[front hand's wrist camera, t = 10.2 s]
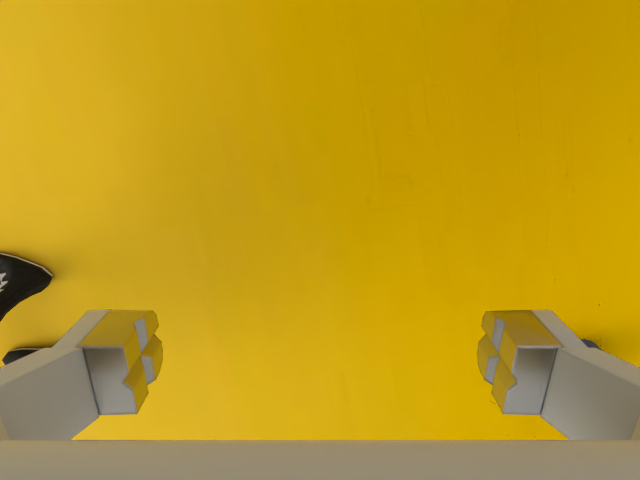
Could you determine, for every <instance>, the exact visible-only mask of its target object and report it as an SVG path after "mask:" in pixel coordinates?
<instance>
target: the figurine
mask: <svg viewBox="0 0 640 480" xmlns="http://www.w3.org/2000/svg"><path fill="white" fill-rule="evenodd" d="M52 276H53V275H52V274H51V273H50V272H49V271H48V270H47V269H46V268H44V267H43V266H40V265H38V264H35V263H33V262H30V261H27V260H25V259H22V258H19V257H17V256H13V255H9V254H5V253H0V321H1V320H2V319H3V317H4V316H5V314H6V313H7V312H9V311H10V310H11V309H12V308H13V307H15V306H16V305H17V304H18V303H19V302H21V301H23V300H25V299H26V298H28V297H30V296H32V295H34V294H36V293H39V292H41V291H42V290H44V289H45V288H46V287H47V286H48V285H49V284H50V282H51V279H52ZM41 349H43V348H20V349H14V350H10V351H9V352H8V353H7V354H6V355H5V357H4V358H3V360H2V361H3V362H4V364H5V365H7V364H9V363H11V362H14V361H16V360H18V359H20V358H23V357H25V356H27V355H29V354H32V353H34V352H36V351H38V350H41Z"/></svg>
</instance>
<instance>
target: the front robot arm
mask: <svg viewBox="0 0 640 480" xmlns="http://www.w3.org/2000/svg"><path fill="white" fill-rule="evenodd" d="M158 326H159V325H158V320H157V315H156V314H155V312H154V311H149V310H111V309H109V310H90V311H88V312H87V313H86V314H85V315H84V316H83V317H82V318H81V319H80V320H79V321H78V322H77V323H76V324H75V325H74V326H73V327H72V328H71V329H70V330H69V331H68V332H67V333H66V334H65V335H64V336H63V337H62V338H61V339H60V340H59V341H58V342H57V343H56V344H55V345H54V346H53V347H52V348H43V349H41V350H38V351H36V352H34V353H32V354H29V355H27V356H25V357H23V358H20V359H18V360H16V361H14V362H11V363H9V364H7V365H5V366H2V367H0V480H640V367H637V366H635V365H633V364H631V363H629V362H626V361H624V360H622V359H620V358H617V357H615V356H613V355H611V354H608V353H606V352H604V351H602V350H599V349H597V348H588V347H587V346H586V345H585V344H584V343H583V342H582V341H581V340H580V339H579V338H578V337H577V336H576V335H575V334H574V333H573V332H572V331H571V330H570V329H569V328H568V327H567V326H566V325H565V324H564V323H563V322H562V321H561V320H560V318H559V317H558V316H557V315H556V314H555V313H554V312H553V311H550V310H547V309H543V310H511V311H486V312H485V314H484V316H483V319H482V325H481V326H482V328H483V330H484V331H485V333H486V334H485V335H484V336H483V338H482V339H481V340H480V341H479V343H478V350H477V357H478V365H479V369H480V372H481V374H482V376H483V378H484V380H486V381H487V382H489V383H490V384H492V385H493V387H492V395H493V397H494V398H495V400H496V402H497V404H498V406H499V408H500V409H501V411H502V413H503V414H520V415H541V417H542V418H543V419H544V420H545V421H547V422H548V423H549V424H551V425H552V426H553V427H554V428H556V429H557V430H558V431H559V432H561V433H562V434H563V435H565V436H566V437H567V438H568V439H570V440H70V439H72V438H73V437H74V436H76V435H77V434H78V433H79V432H81V431H82V430H83V429H84V428H86V427H87V426H88V425H90V424H91V423H92V422H93V421H95V420H96V419H97V418H99V415H120V414H137V413H138V411H139V409H140V408H141V406H142V404H143V402H144V400H145V398H146V397H147V395H148V387H147V385H148V384H150V383H151V382H153V381H154V380H156V378H157V376H158V374H159V372H160V369H161V364H162V360H163V349H162V342H161V341H160V340H159V339H158V338H157V336H156V335H155V334H154V333H155V331H156V330H157V328H158Z"/></svg>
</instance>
